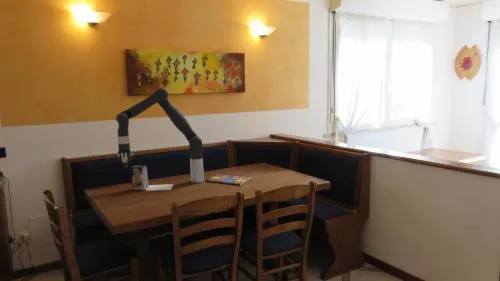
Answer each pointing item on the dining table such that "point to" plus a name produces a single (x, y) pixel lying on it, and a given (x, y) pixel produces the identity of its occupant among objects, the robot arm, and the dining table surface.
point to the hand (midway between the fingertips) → (125, 167)
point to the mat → (159, 187)
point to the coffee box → (139, 177)
